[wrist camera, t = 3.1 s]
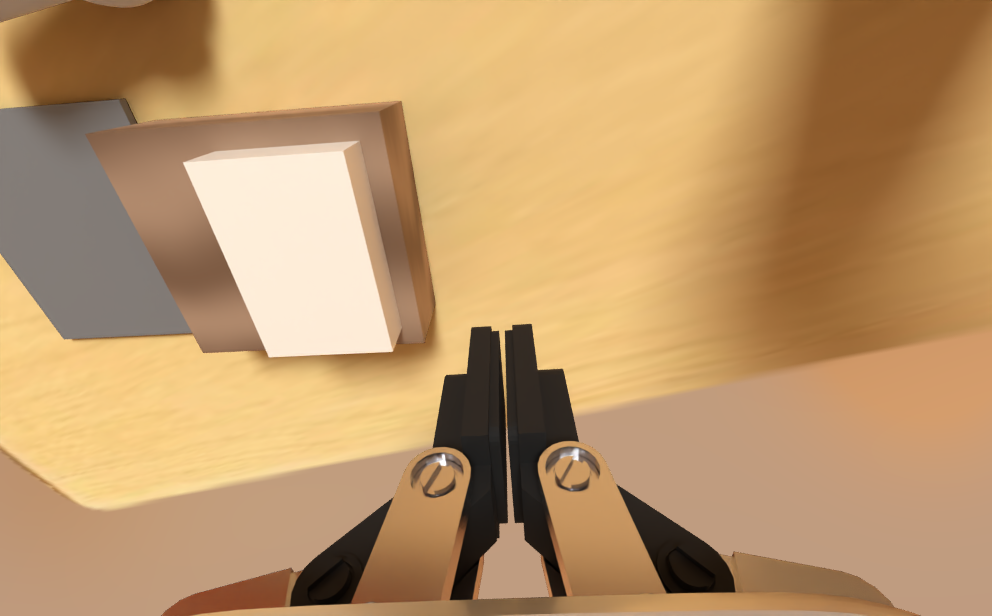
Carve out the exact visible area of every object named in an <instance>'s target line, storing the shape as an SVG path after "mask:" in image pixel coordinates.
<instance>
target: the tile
mask: <svg viewBox="0 0 992 616" xmlns="http://www.w3.org/2000/svg"><path fill="white" fill-rule="evenodd" d="M183 164H184V166H185V168H186V171H187V173H188V175H189V177H190V180H191V182H192V184H193V187H194V189H195V191H196V193H197V196H198V198H199V200H200V202H201V205H202V207H203V209H204V211H205V214H206V216H207V218H208V220H209V223H210V225H211V227H212V230H213V232H214V234H215V236H216V239H217V241H218V243H219V245H220V248H221V250H222V252H223V254H224V257H225V259H226V261H227V263H228V266H229V268H230V270H231V273H232V275H233V277H234V279H235V282H236V284H237V286H238V288H239V291H240V293H241V295H242V297H243V300H244V302H245V304H246V306H247V309H248V311H249V313H250V316H251V318H252V320H253V322H254V325H255V327H256V329H257V331H258V334H259V336H260V338H261V340H262V343H263V345H264V347H265V350H266V352H267V354H268V356H269V357H287V356H309V355H331V354H354V353H376V352H393V350H394V347H395V345H396V342H397V339H398V337H399V334H400V332H401V329H402V326H401V322H400V317H399V313H398V308H397V304H396V299H395V295H394V291H393V286H392V282H391V277H390V273H389V268H388V264H387V260H386V255H385V251H384V246H383V242H382V237H381V233H380V228H379V224H378V220H377V215H376V211H375V206H374V202H373V197H372V193H371V189H370V184H369V180H368V175H367V171H366V166H365V162H364V158H363V153H362V149H361V144H360V141H350V142H336V143H322V144H309V145H295V146H282V147H268V148H254V149H241V150H227V151H215V152H212V153H209V154H206V155H203V156H200V157H197V158H194V159H191V160H189V161H186V162H183Z"/></svg>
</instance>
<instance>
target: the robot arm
mask: <svg viewBox="0 0 992 616" xmlns="http://www.w3.org/2000/svg"><path fill="white" fill-rule="evenodd" d="M512 329H513V330H508V331H505V352H506V389H507V426H508V443H509V456H510V469H511V480H512V494H513V506H514V518H515V523H524V533H525V534H524V535H525V540H526V542H528V543H529V544H530V545H531V546H532V547H533V548H534V549H536V550H537V551H538V552H539V553H540V554H541V562H542V567H543V571H544V576H545V580H546V584H547V588H548V592H549V597H541V598H540V597H538V598H508V599H478V594H479V588H480V582H481V577H482V571H483V565H484V554H485V553H486V552H487V550H489V549H490V547H491V546H492V545H493V544H494V543H495V542H496V541H497V538H499V524H500V523H508V511H507V464H506V418H505V399H504V387H503V375H502V362H501V350H500V337H499V331H492V329H491V326H488V327H472V328H471V338H470V348H469V358H468V368H467V374H458V375H446V376H445V379H444V385H443V390H442V396H441V402H440V408H439V414H438V420H437V426H436V432H435V438H434V444H433V448H432V449H429V450H426V451H424V452H422V453H421V454H419V455H417V456H416V457H415V458H414V459H413V460H412V461H411V462H410V463H409V464H408V466H407V468H406V469H405V471H404V473H403V476H402V479H401V481H400V483H399V486H398V488H397V491H396V493H395V495H394V497H393V498H392V499H391V500H389V501H388V502H387V503H385V504H384V505H383V506H381V507H380V508H379V509H378V510H376V511H375V512H374V513H372V514H371V515H370V516H369V517H367V518H366V519H365V520H364V521H362V522H361V523H360V524H358V525H357V526H356V527H354V528H353V529H352V530H350V531H349V532H348V533H347V534H345V535H344V536H343V537H342V538H340V539H339V540H338V541H336V542H335V543H334V544H333V545H331V546H330V547H329V548H327V549H326V550H325V551H323V552H322V553H321V554H320V555H318V556H317V557H316V558H315V559H313V560H312V561H311V562H310V563H309V564H308V565H307V566H306V567H305V568H304V570H301V571H298V572H294V571H293V570H292V568H288V569H284V570H281V571H277V572H273V573H270V574H266V575H262V576H259V577H255V578H251V579H248V580H244V581H240V582H236V583H233V584H229V585H225V586H222V587H218V588H214V589H211V590H207V591H203V592H199V593H196V594H193V595H191V596H188V597H186V598H184V599H181V600H179V601H178V602H177V603H175V604H174V605H173V606H171V607H170V608H169V609H167V610H166V611H165V612H164V613H163V614H162V615H161V616H921V615H918V614H915V613H912V612H909V611H905V610H902V609H898V608H895V607H894V606H893V605H892V603H891V602H890V601H889V600H888V599H887V598H886V597H885V596H884V595H883V594H882V593H881V592H880V591H879V590H877V588H875V587H874V586H872V585H871V584H869V583H867V582H866V581H864V580H862V579H861V578H859V577H857V576H854V575H851V574H848V573H845V572H842V571H836V570H831V569H826V568H820V567H815V566H810V565H803V564H798V563H793V562H787V561H782V560H777V559H771V558H766V557H761V556H755V555H749V554H745V553H739V552H733V555H732V556H726V555H721V554H719V553H718V552H717V551H715V550H714V549H713V548H712V547H710V546H709V545H708V544H707V543H705V542H704V541H702V540H700V539H699V538H698V537H696V536H695V535H693V534H692V533H690V532H689V531H687V530H685V529H684V528H682V527H681V526H679V525H678V524H676V523H674V522H673V521H672V520H670V519H669V518H667V517H666V516H664V515H663V514H661V513H659V512H658V511H656V510H655V509H653V508H652V507H650V506H649V505H647V504H646V503H644V502H642V501H641V500H639V499H638V498H637V497H635V496H633V495H632V494H630V493H629V492H627V491H626V490H624V489H623V488H621V487H620V486H618V485H617V484H616V483H615V481H614V479H613V476H612V474H611V472H610V470H609V468H608V466H607V463H606V461H605V460H604V459H603V457H602V456H601V454H600V453H599V452H597V451H596V450H595V449H593V447H590V446H588V445H586V444H584V443H580V442H579V440H578V436H577V431H576V427H575V422H574V417H573V412H572V408H571V403H570V398H569V394H568V389H567V384H566V380H565V375H564V371H563V369H551V370H538V369H537V362H536V354H535V346H534V339H533V331H532V324H523V325H512Z"/></svg>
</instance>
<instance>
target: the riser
mask: <svg viewBox="0 0 992 616" xmlns="http://www.w3.org/2000/svg"><path fill="white" fill-rule="evenodd" d="M85 135H86V137H87V139H88V141H89V143H90V145H91V146H92V148H93V150H94V152H95V154H96V156H97V157H98V159H99V161H100V163H101V165H102V167H103V169H104V170H105V172H106V174H107V176H108V178H109V180H110V182H111V183H112V185H113V187H114V189H115V191H116V193H117V195H118V196H119V198H120V200H121V202H122V204H123V206H124V207H125V209H126V211H127V213H128V215H129V217H130V219H131V220H132V222H133V224H134V226H135V228H136V230H137V232H138V233H139V235H140V237H141V239H142V241H143V243H144V245H145V246H146V248H147V250H148V252H149V254H150V256H151V257H152V259H153V261H154V263H155V265H156V267H157V269H158V270H159V272H160V274H161V276H162V278H163V280H164V282H165V283H166V285H167V287H168V289H169V291H170V293H171V294H172V296H173V298H174V300H175V302H176V304H177V306H178V307H179V309H180V311H181V313H182V315H183V317H184V319H185V320H186V322H187V324H188V326H189V328H190V330H191V332H192V333H193V335H194V337H195V339H196V341H197V343H198V344H199V346H200V348H201V350H202V352H203V353H215V352H236V351H258V350H265V347H264V345H263V343H262V340H261V338H260V336H259V334H258V331H257V329H256V327H255V325H254V322H253V320H252V318H251V316H250V313H249V311H248V309H247V306H246V304H245V302H244V300H243V297H242V295H241V293H240V291H239V288H238V286H237V284H236V282H235V279H234V277H233V275H232V273H231V270H230V268H229V266H228V263H227V261H226V259H225V257H224V254H223V252H222V250H221V248H220V245H219V243H218V241H217V239H216V236H215V234H214V232H213V230H212V227H211V225H210V223H209V220H208V218H207V216H206V214H205V211H204V209H203V207H202V205H201V202H200V200H199V198H198V196H197V193H196V191H195V189H194V187H193V184H192V182H191V180H190V177H189V175H188V173H187V171H186V168H185V166H184V164H183V162H186V161H189V160H191V159H194V158H197V157H200V156H203V155H206V154H209V153H212V152H215V151H227V150H241V149H254V148H268V147H282V146H295V145H309V144H322V143H336V142H350V141H360V144H361V149H362V153H363V158H364V162H365V166H366V171H367V175H368V180H369V184H370V189H371V193H372V197H373V202H374V206H375V211H376V215H377V220H378V224H379V228H380V233H381V237H382V242H383V246H384V251H385V255H386V260H387V264H388V268H389V273H390V277H391V282H392V286H393V291H394V295H395V299H396V304H397V308H398V313H399V317H400V322H401V326H402V329H401V332H400V334H399V337H398V339H397V342H396V344H410V343H425V339H426V335H427V332H428V328H429V325H430V321H431V318H432V314H433V311H434V307H435V298H434V292H433V286H432V280H431V274H430V268H429V262H428V257H427V251H426V245H425V239H424V233H423V227H422V221H421V215H420V209H419V203H418V198H417V192H416V186H415V180H414V174H413V168H412V162H411V156H410V150H409V144H408V139H407V133H406V127H405V121H404V115H403V109H402V103H401V101H394V102H382V103H369V104H356V105H343V106H330V107H318V108H305V109H292V110H279V111H266V112H254V113H241V114H228V115H215V116H203V117H190V118H177V119H164V120H154V121H149V122H144V123H139V124H134V125H129V126H123V127H118V128H113V129H108V130H103V131H98V132H93V133H88V134H85Z"/></svg>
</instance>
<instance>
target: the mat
mask: <svg viewBox="0 0 992 616" xmlns="http://www.w3.org/2000/svg"><path fill="white" fill-rule="evenodd" d="M134 124H137V123H136V121H135V118H134V116H133V114H132V112H131V110H130V108H129V106H128V104H127V102H126V99H116V100H103V101H91V102H79V103H66V104H54V105H42V106H30V107H17V108H5V109H0V254H1V255H2V256H3V258H4V259H5V260H6V262H7V263H8V264H9V266H10V267H11V268H12V270H13V271H14V273H15V274H16V275H17V277H18V278H19V279H20V281H21V282H22V283H23V285H24V286H25V287H26V289H27V290H28V292H29V293H30V294H31V296H32V297H33V298H34V300H35V301H36V302H37V304H38V305H39V306H40V308H41V309H42V310H43V312H44V313H45V315H46V316H47V317H48V319H49V320H50V321H51V323H52V324H53V325H54V327H55V328H56V329H57V331H58V332H59V333H60V335H61V336H62V338H63V339H80V338H101V337H121V336H142V335H162V334H183V333H192V332H191V330H190V328H189V326H188V324H187V322H186V320H185V319H184V317H183V315H182V313H181V311H180V309H179V307H178V306H177V304H176V302H175V300H174V298H173V296H172V294H171V293H170V291H169V289H168V287H167V285H166V283H165V282H164V280H163V278H162V276H161V274H160V272H159V270H158V269H157V267H156V265H155V263H154V261H153V259H152V257H151V256H150V254H149V252H148V250H147V248H146V246H145V245H144V243H143V241H142V239H141V237H140V235H139V233H138V232H137V230H136V228H135V226H134V224H133V222H132V220H131V219H130V217H129V215H128V213H127V211H126V209H125V207H124V206H123V204H122V202H121V200H120V198H119V196H118V195H117V193H116V191H115V189H114V187H113V185H112V183H111V182H110V180H109V178H108V176H107V174H106V172H105V170H104V169H103V167H102V165H101V163H100V161H99V159H98V157H97V156H96V154H95V152H94V150H93V148H92V146H91V145H90V143H89V141H88V139H87V137H86V135H85V134H88V133H93V132H98V131H103V130H108V129H113V128H118V127H123V126H129V125H134Z"/></svg>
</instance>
